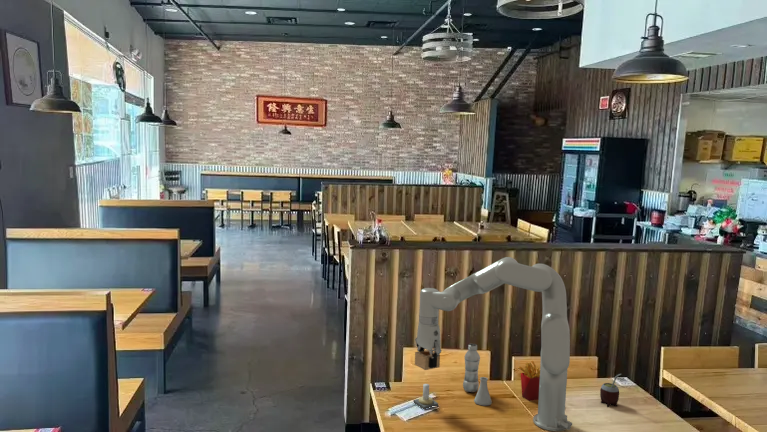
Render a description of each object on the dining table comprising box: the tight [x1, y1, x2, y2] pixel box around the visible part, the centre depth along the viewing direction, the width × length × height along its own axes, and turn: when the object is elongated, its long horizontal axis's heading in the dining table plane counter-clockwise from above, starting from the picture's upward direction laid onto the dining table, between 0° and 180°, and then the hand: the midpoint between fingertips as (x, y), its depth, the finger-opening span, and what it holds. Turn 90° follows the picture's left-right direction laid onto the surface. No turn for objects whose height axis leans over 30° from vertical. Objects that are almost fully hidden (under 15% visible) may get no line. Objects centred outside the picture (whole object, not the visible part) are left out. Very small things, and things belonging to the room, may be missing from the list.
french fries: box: [518, 360, 540, 402], centre depth 218 cm, size 9×8×15 cm
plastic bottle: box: [462, 343, 481, 393], centre depth 223 cm, size 6×7×20 cm
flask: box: [473, 376, 493, 406], centre depth 212 cm, size 7×7×10 cm
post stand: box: [412, 383, 439, 410], centre depth 208 cm, size 7×7×8 cm
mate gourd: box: [599, 373, 622, 408], centre depth 213 cm, size 8×8×15 cm
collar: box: [414, 349, 441, 371], centre depth 207 cm, size 7×7×5 cm
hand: (427, 363), depth 207 cm, fingers closed on collar, 7 cm apart
